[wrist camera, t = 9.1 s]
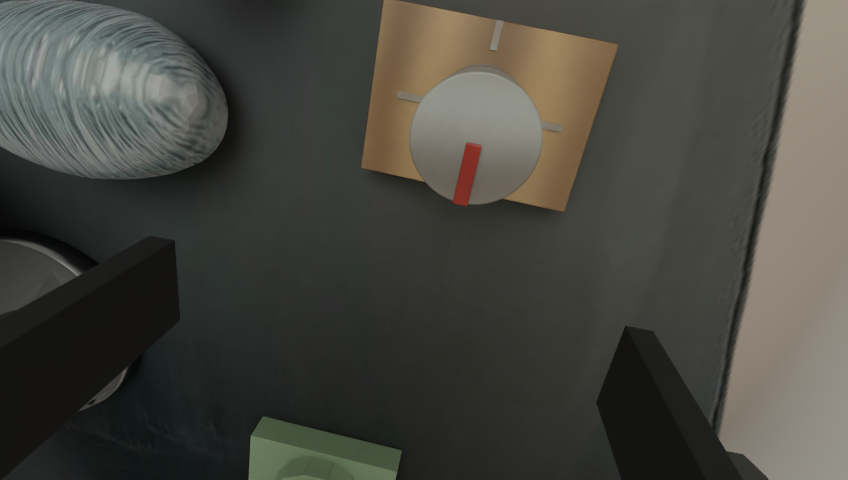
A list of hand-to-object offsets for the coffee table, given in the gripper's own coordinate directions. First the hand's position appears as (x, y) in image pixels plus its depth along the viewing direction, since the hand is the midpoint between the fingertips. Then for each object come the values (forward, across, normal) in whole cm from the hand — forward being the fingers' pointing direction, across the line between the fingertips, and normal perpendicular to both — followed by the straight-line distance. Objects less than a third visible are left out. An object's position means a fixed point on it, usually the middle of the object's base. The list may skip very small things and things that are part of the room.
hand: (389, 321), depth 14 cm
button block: (+17, -5, -27) cm, 33 cm away
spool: (+18, -19, +2) cm, 26 cm away
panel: (+17, +2, +5) cm, 18 cm away
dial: (+14, +2, +5) cm, 15 cm away
